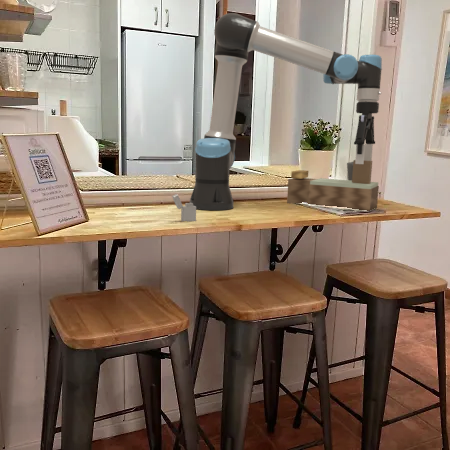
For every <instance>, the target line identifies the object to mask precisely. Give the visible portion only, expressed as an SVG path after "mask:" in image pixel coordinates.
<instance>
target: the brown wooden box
mask: <svg viewBox="0 0 450 450" xmlns="http://www.w3.org/2000/svg"><path fill="white" fill-rule="evenodd" d="M316 179H317V178H309V177H307V178H303V179H298V178H287V181H288V182H287V194H286V195H287V196H286V198H287V199H286V203H287V204H291V203H302V202H307V203H308V204H316V205H325V206H337V207H347V208H352V209H359V210H367V211H370V210H372V209H374V208H375V209H376V208H378V200H379V199H378V198H379V188H380V187H379V185H378V186H377V187H374V188H372V189H362V188H350V187H337V186H325V185H312V184H310V181H312V180H316ZM375 209H374V210H375ZM372 211H373V210H372ZM370 212H371V211H370Z"/></svg>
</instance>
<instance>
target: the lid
mask: <svg viewBox="0 0 450 450" xmlns="http://www.w3.org/2000/svg"><path fill="white" fill-rule="evenodd" d="M352 162H353V174H352V181H351V180H348V179H337V178H336V179H335V178H322V177H320V178H315V179H316V180H312V181H310V184H312V185H325V186H337V187H350V188H362V189H372V188H374V187H377V186H379V181H378V182H376V181H375V182H374V181H371V180H372V171H373V160H372V161H366V160H364V164H355V159H354V160H353V161H352Z"/></svg>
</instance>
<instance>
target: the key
mask: <svg viewBox="0 0 450 450" xmlns="http://www.w3.org/2000/svg"><path fill="white" fill-rule="evenodd" d="M290 175H291V178H290V179H292V178H298V179H303V178H309V170H305V169H302V170H301V169H298V170H297V169H296V170H291V174H290Z"/></svg>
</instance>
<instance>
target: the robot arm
mask: <svg viewBox="0 0 450 450" xmlns="http://www.w3.org/2000/svg"><path fill="white" fill-rule="evenodd" d="M213 33H214V38H215V41H216V42H215V43H216V44H215V50H214V51H215V53H214V58H215V59H216V60H217V71H216V77H215V85H214V92H213V93H214V94H213V100H212V108H211V115H210V116H211V117H210V123H209V124H210V125H209V130H208V131H207V132H206V133H205V134H204V137H203V138H200V139H198V140H197V141H196V143H195V149H194V150H195V170H194V171H195V178H194V179H195V180H194V183H195V184H194V186H193V191H192V193H191V196H190V200H189V203H193V206H196V210H202V211H203V210H204V211H205V210H206V211H226V210H231V209H234V199H233V195H232V191H231V187H230V170H231V168H232V166H233V164H234V163H235V159H236V154H235V150H236V142H237V138H236V136H235V135H234V128H235V127H234V126H235V120H236V113H237V106H238V105H237V104H238V99H239V91H240V84H241V77H242V70H243V69H242V68H243V66H244V65H245V64H246V63H247V62H248V58H249V52H251V51H255V52H258V53H261V54H263V55H266V56H270V57H273V58H275V59H278V60H281V61H285V62H287V63H290V64H294V65H297V66H300V67H302V68H305V69H307V70H308V69H309V70H311V71H314V72H318V73H320V74H323V75H322V76H323V77H322V79H323V83H324V84H329V85H331V84H332V85H336V84H337V85H350V84H351V85H356V84H357V93H356V100H357V103H356V107H355V112H356V113H357V114H360V115H359V116H358V123H357V129H356V134H355V139H354V142H353V145H355V146H356V147H355V159H354V160H355V164H364V160H366V161H372V162H373V160H372V158H373V145H375V144H376V141H375V122H374V121H375V116H374V115H373V114H378V113H379V108H380V103H379V102H378V101H379V100H380V95H382V92H381V91H380V89H381V80H382V70H383V68H382V65H383V64H382V61H383V60H382V56H380V55H379V54H363V55H360V56H359V59H356V57H355V56H353V55H352V54H346V53H345V54H342V53H341V52H336V51H335V50H330V49H328V48H325V47H322V46H319V45H317V44H313V43H311V42H309V41H308V42H307V41H304V40H301V39H300V38H299V39H298V38H295V37H294V36H293V37H292V36H290V35H287V34H284V33H281V32H278V31H275V30H272V29H269V28H266V27H263V26H261V25H260V23H259V22H258V21H256V20H253V19H251V18H248V17H246V16H244V15H241V14H238V13H235V12H230V13H229V12H228V13H226V14H223V15H222V16H220V17H219V18H218V20H217V21H216V23H215V25H214V30H213Z"/></svg>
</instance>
